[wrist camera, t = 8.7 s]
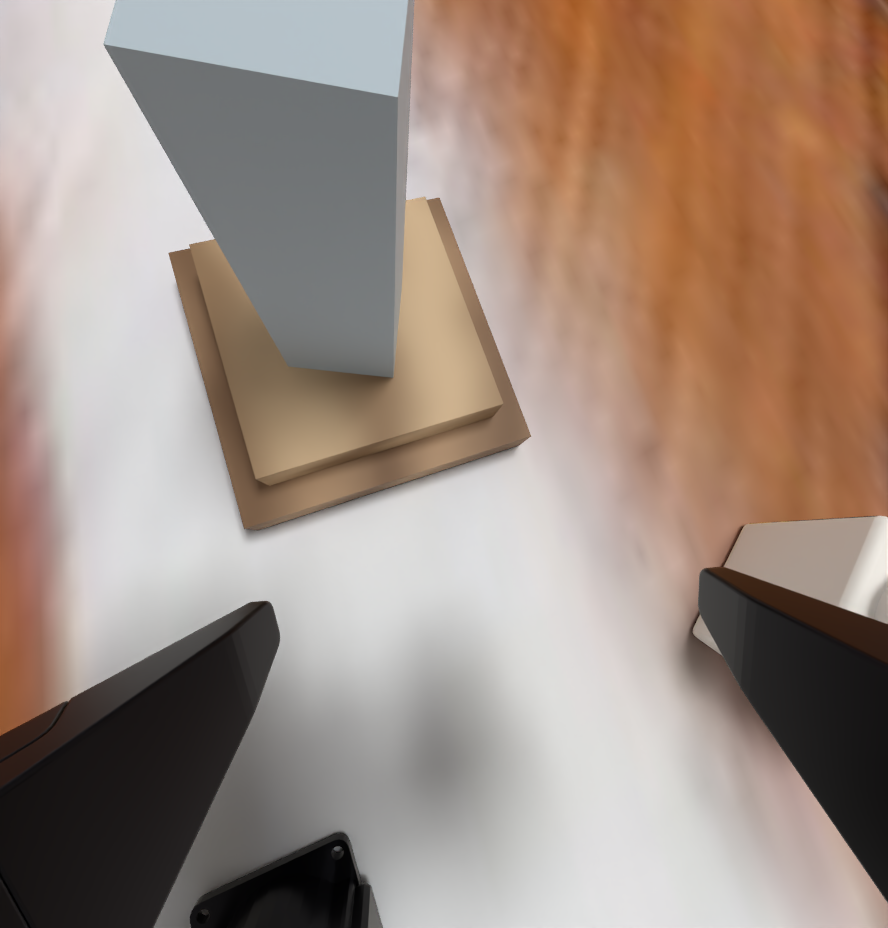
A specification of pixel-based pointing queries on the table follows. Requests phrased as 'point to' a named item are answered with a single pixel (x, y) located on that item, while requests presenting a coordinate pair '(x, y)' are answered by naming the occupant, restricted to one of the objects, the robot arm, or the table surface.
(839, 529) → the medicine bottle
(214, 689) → the robot arm
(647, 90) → the table surface
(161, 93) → the block
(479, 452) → the plinth
